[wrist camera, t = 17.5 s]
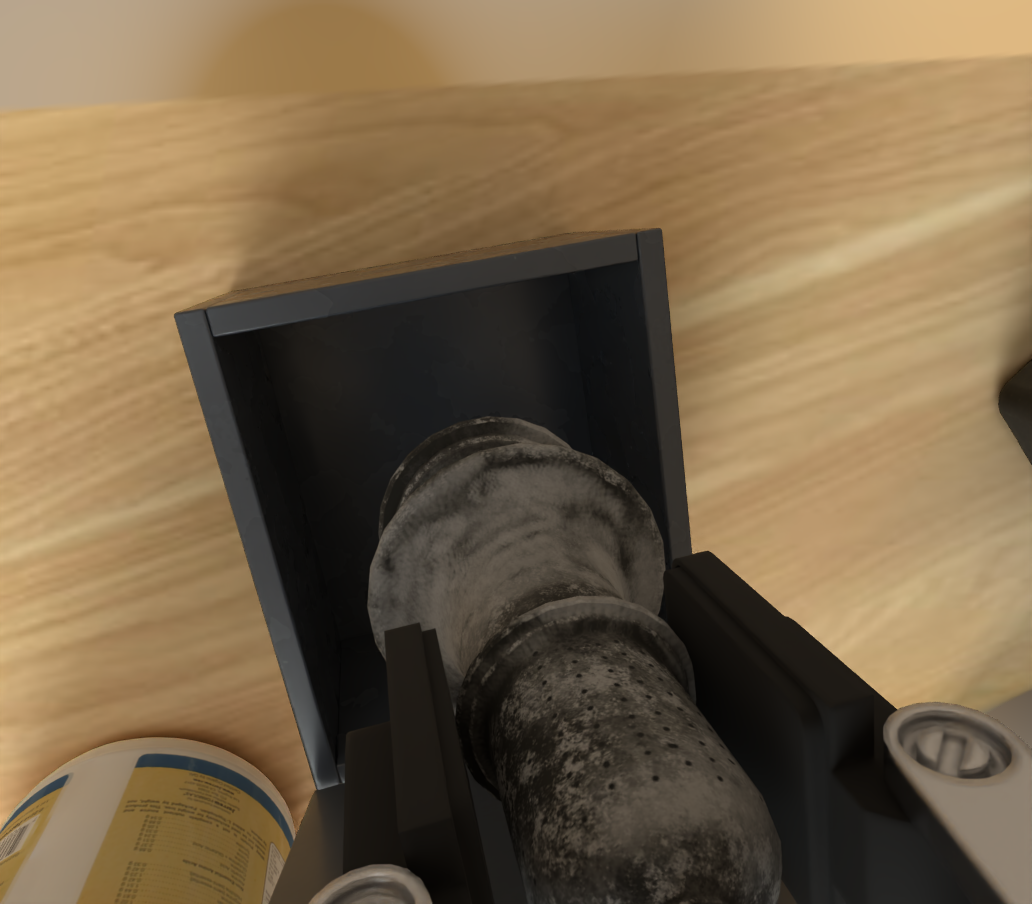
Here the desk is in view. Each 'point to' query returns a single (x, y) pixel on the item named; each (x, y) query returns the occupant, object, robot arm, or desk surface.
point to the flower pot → (1019, 407)
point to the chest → (418, 422)
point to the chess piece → (568, 671)
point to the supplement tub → (147, 829)
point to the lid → (322, 850)
